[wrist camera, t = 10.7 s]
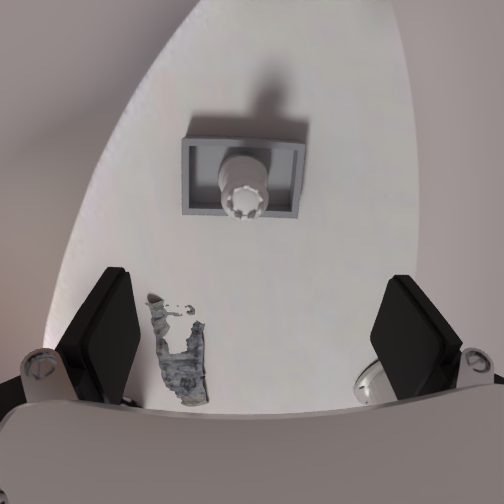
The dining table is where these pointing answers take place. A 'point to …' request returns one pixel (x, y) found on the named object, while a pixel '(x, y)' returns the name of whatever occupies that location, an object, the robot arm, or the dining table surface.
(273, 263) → the dining table surface
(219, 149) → the gray rectangular open tray
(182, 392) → the driftwood
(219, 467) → the robot arm
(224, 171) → the rook chess piece
